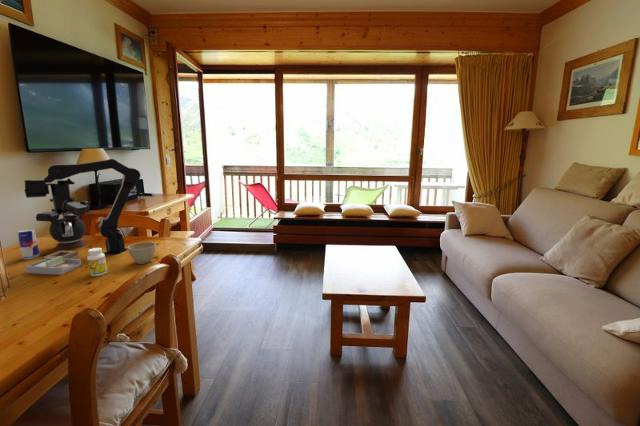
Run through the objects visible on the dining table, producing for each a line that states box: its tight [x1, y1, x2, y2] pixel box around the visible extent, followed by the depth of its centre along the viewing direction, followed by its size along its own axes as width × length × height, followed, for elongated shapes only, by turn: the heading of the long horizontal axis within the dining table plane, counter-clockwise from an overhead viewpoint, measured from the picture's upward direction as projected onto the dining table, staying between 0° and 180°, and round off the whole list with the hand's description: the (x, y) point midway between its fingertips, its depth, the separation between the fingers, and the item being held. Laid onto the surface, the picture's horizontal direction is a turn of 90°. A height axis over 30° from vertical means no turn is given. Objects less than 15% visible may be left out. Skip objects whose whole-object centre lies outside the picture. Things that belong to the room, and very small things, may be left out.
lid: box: [35, 256, 65, 267], centre depth 119 cm, size 7×7×3 cm
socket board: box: [42, 250, 80, 260], centre depth 128 cm, size 8×8×2 cm
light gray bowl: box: [127, 241, 157, 265], centre depth 126 cm, size 10×10×7 cm
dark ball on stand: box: [48, 215, 87, 251], centre depth 143 cm, size 13×13×15 cm
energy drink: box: [16, 228, 40, 260], centre depth 129 cm, size 5×5×12 cm
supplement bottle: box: [86, 247, 108, 277], centre depth 114 cm, size 5×5×10 cm
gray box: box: [24, 258, 82, 276], centre depth 119 cm, size 14×9×3 cm, turn 85°
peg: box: [62, 222, 73, 237], centre depth 126 cm, size 4×4×6 cm
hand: (67, 233), depth 127 cm, fingers closed on peg, 3 cm apart
